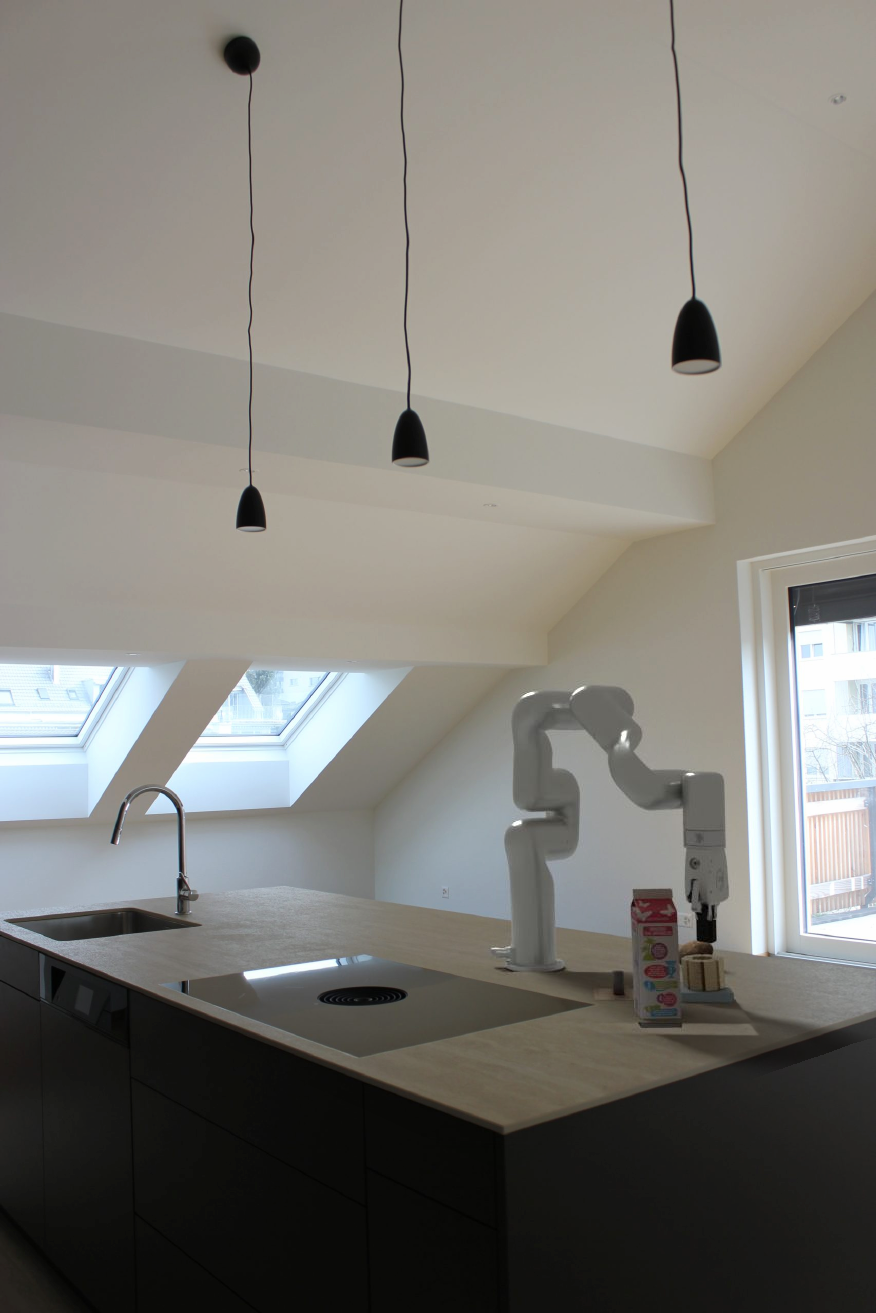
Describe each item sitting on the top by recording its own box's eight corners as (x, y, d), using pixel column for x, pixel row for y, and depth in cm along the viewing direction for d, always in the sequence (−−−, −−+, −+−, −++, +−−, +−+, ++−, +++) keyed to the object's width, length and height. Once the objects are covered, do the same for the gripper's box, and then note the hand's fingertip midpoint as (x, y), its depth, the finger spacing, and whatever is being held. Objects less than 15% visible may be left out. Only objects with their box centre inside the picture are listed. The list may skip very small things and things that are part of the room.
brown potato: (718, 948, 217) (703, 926, 216) (725, 970, 210) (709, 947, 208) (685, 965, 219) (670, 943, 218) (691, 987, 211) (675, 964, 210)
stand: (595, 1008, 180) (594, 976, 180) (593, 996, 189) (592, 966, 189) (646, 1008, 179) (645, 976, 179) (642, 997, 188) (641, 966, 188)
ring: (715, 992, 177) (713, 962, 177) (677, 988, 181) (675, 960, 181) (730, 984, 182) (728, 955, 183) (693, 981, 186) (691, 953, 187)
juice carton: (634, 1017, 173) (629, 886, 175) (674, 1017, 172) (668, 886, 175) (641, 1027, 166) (636, 891, 168) (682, 1027, 166) (676, 890, 168)
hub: (681, 1010, 177) (680, 969, 178) (675, 998, 186) (674, 959, 187) (734, 1010, 176) (732, 969, 177) (725, 998, 185) (724, 959, 186)
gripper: (708, 843, 177) (711, 951, 175) (739, 837, 189) (741, 937, 187) (668, 841, 181) (670, 945, 180) (700, 835, 193) (702, 933, 192)
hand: (706, 941), depth 183 cm, fingers closed
